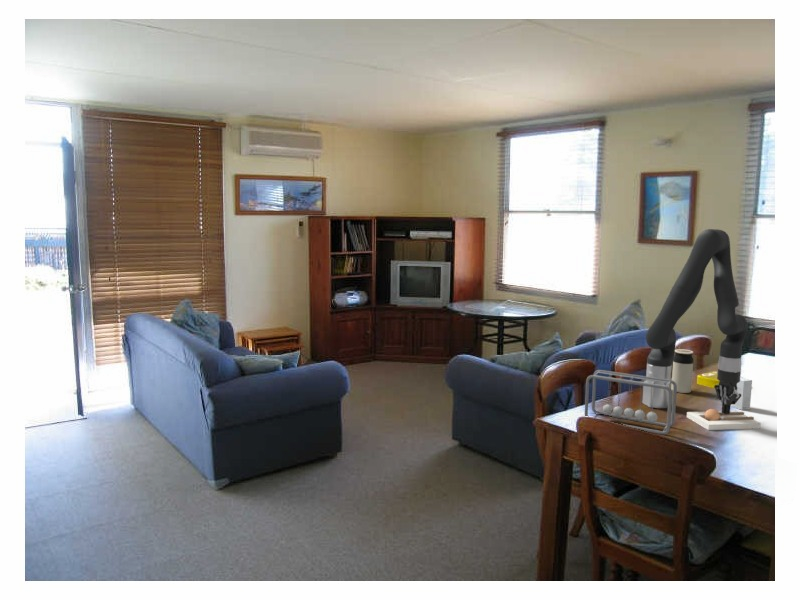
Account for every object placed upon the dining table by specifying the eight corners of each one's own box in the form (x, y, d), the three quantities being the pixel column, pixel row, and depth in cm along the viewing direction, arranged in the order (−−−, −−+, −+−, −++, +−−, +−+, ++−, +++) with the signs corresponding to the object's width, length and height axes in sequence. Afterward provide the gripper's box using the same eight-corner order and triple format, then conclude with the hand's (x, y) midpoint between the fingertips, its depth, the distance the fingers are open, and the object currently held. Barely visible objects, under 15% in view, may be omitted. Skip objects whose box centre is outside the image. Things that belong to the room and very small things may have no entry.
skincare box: (750, 409, 244) (752, 380, 242) (741, 410, 242) (744, 381, 241) (737, 404, 249) (740, 376, 248) (729, 405, 248) (731, 377, 246)
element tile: (727, 392, 268) (728, 381, 267) (694, 384, 280) (695, 374, 280) (745, 387, 276) (745, 376, 275) (712, 379, 288) (713, 369, 288)
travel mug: (692, 394, 263) (695, 353, 261) (672, 392, 266) (674, 352, 263) (689, 389, 271) (692, 349, 268) (670, 387, 273) (673, 348, 271)
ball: (715, 406, 226) (725, 416, 226) (708, 405, 231) (717, 416, 230) (706, 415, 225) (716, 425, 225) (699, 414, 230) (708, 424, 230)
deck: (708, 430, 220) (708, 422, 220) (686, 417, 234) (687, 410, 234) (760, 428, 222) (760, 420, 222) (735, 415, 236) (736, 408, 236)
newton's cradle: (674, 427, 223) (677, 380, 221) (669, 436, 215) (672, 387, 212) (591, 412, 240) (594, 368, 237) (583, 420, 231) (586, 374, 228)
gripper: (709, 364, 232) (705, 408, 234) (731, 373, 219) (727, 419, 221) (727, 363, 232) (724, 407, 235) (750, 372, 219) (746, 419, 222)
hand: (725, 413), depth 228 cm, fingers closed
